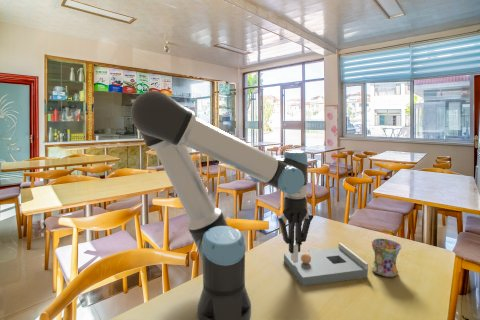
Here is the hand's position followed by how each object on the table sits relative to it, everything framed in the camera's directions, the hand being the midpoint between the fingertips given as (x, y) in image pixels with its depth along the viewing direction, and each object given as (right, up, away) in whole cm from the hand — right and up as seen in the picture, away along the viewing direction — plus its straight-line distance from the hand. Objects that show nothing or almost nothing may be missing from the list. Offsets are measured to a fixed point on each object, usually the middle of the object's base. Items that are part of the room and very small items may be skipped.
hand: (294, 260), depth 103 cm
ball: (+4, -1, +1) cm, 5 cm away
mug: (+32, -4, +2) cm, 32 cm away
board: (+11, -4, +3) cm, 12 cm away
